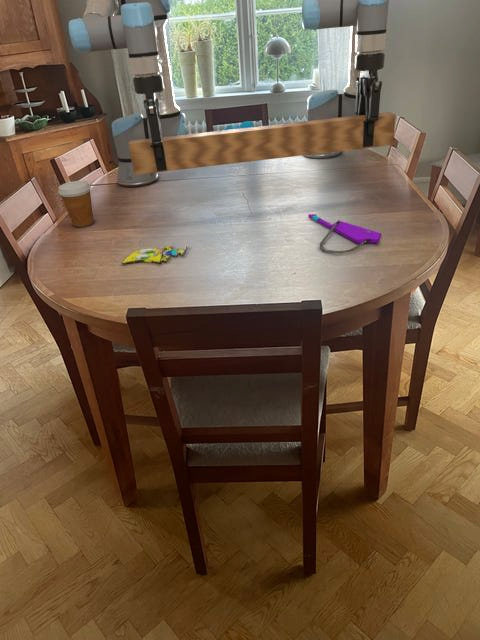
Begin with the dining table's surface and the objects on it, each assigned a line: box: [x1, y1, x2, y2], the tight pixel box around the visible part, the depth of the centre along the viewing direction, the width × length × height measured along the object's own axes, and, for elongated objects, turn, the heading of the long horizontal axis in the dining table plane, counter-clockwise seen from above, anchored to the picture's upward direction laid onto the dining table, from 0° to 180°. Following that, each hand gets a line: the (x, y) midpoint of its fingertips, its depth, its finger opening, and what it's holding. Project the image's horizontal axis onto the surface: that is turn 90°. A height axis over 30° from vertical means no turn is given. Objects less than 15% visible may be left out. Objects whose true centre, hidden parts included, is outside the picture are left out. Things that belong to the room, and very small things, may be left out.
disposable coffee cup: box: [58, 180, 95, 228], centre depth 147 cm, size 10×10×12 cm
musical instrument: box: [308, 213, 382, 254], centre depth 126 cm, size 24×2×20 cm
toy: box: [121, 245, 188, 265], centre depth 125 cm, size 10×1×15 cm
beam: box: [128, 111, 397, 175], centre depth 135 cm, size 74×4×8 cm, turn 98°
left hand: (162, 167), depth 135 cm, fingers closed on beam, 4 cm apart
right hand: (364, 144), depth 139 cm, fingers closed on beam, 4 cm apart
